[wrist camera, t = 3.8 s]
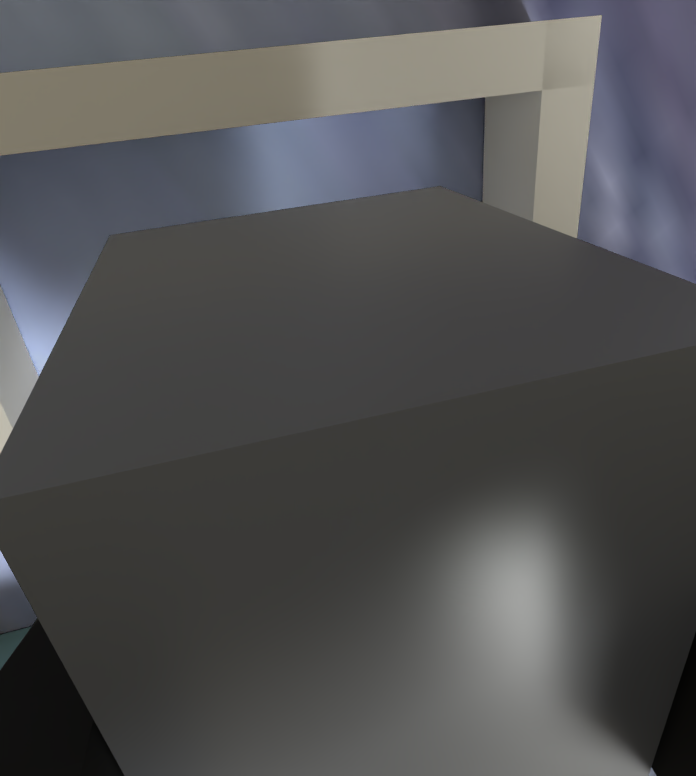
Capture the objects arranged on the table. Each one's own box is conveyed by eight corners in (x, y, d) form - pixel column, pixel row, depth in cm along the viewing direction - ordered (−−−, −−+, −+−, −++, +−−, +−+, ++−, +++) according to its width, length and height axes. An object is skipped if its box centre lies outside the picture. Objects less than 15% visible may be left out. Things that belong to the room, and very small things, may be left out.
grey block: (440, 185, 9) (797, 322, 4) (444, 589, 13) (607, 901, 8) (110, 235, 8) (-26, 505, 3) (234, 648, 12) (270, 1039, 7)
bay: (534, 26, 13) (601, 15, 11) (509, 422, 19) (551, 466, 17) (-152, 93, 11) (-237, 95, 8) (54, 529, 16) (35, 596, 14)
